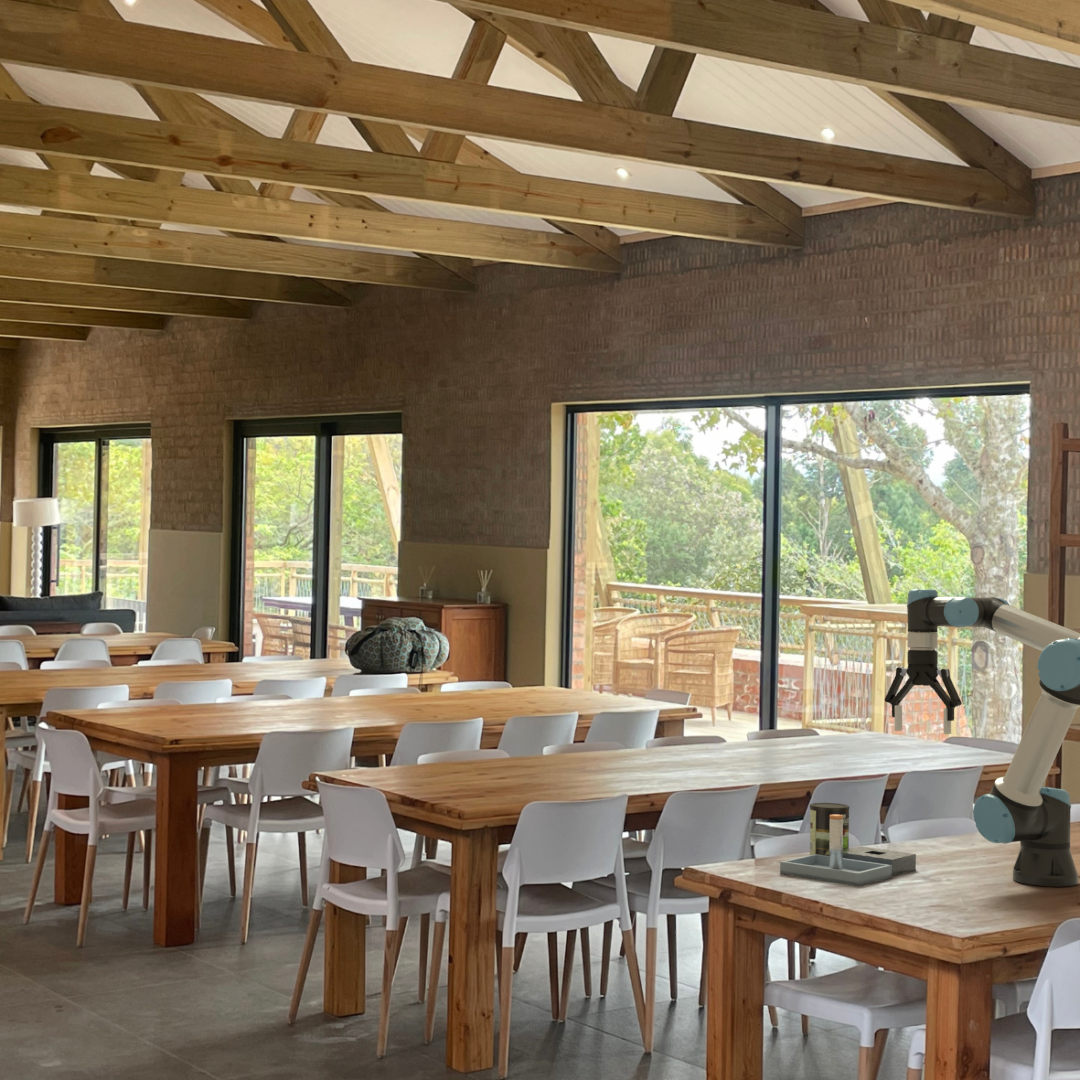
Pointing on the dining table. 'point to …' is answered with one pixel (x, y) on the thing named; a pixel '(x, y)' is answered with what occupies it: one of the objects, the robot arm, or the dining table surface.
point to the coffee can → (826, 826)
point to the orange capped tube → (836, 842)
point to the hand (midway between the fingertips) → (922, 732)
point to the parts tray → (836, 870)
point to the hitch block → (883, 858)
